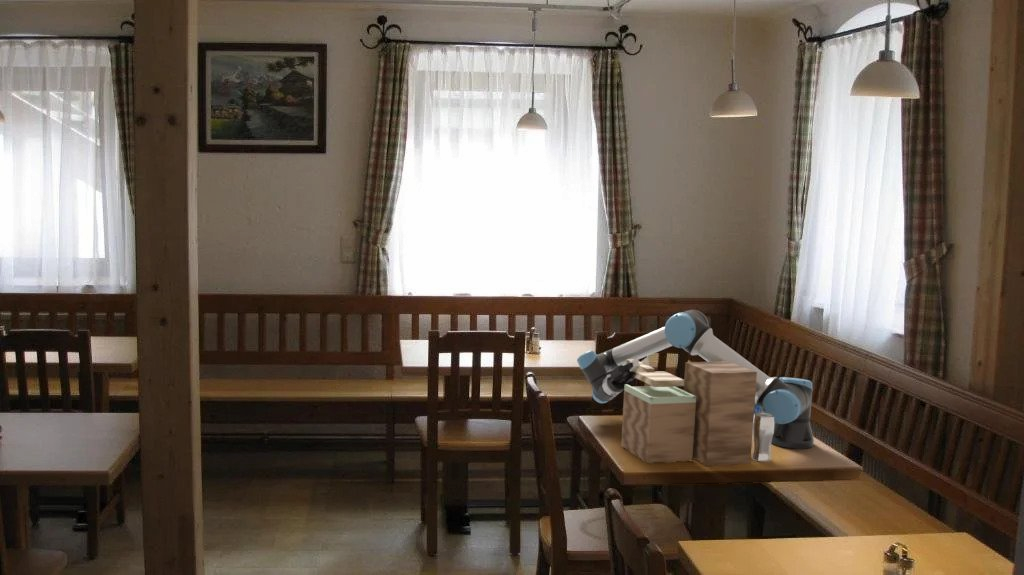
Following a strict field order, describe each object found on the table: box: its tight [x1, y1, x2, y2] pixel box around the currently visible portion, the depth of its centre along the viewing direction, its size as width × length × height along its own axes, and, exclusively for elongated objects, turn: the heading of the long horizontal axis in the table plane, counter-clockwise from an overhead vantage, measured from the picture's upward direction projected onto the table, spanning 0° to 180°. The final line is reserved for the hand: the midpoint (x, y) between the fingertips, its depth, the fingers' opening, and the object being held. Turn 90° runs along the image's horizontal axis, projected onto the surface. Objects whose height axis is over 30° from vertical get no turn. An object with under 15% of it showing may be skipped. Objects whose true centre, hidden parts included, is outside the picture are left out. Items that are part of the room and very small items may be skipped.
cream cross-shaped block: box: [626, 359, 684, 387], centre depth 340 cm, size 30×10×3 cm, turn 18°
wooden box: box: [620, 390, 696, 464], centre depth 334 cm, size 20×16×19 cm
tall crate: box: [683, 361, 757, 467], centre depth 333 cm, size 18×16×30 cm
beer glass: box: [751, 411, 775, 463], centre depth 333 cm, size 7×7×15 cm
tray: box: [623, 384, 696, 404], centre depth 333 cm, size 20×16×2 cm
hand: (642, 361), depth 345 cm, fingers closed on cream cross-shaped block, 3 cm apart
